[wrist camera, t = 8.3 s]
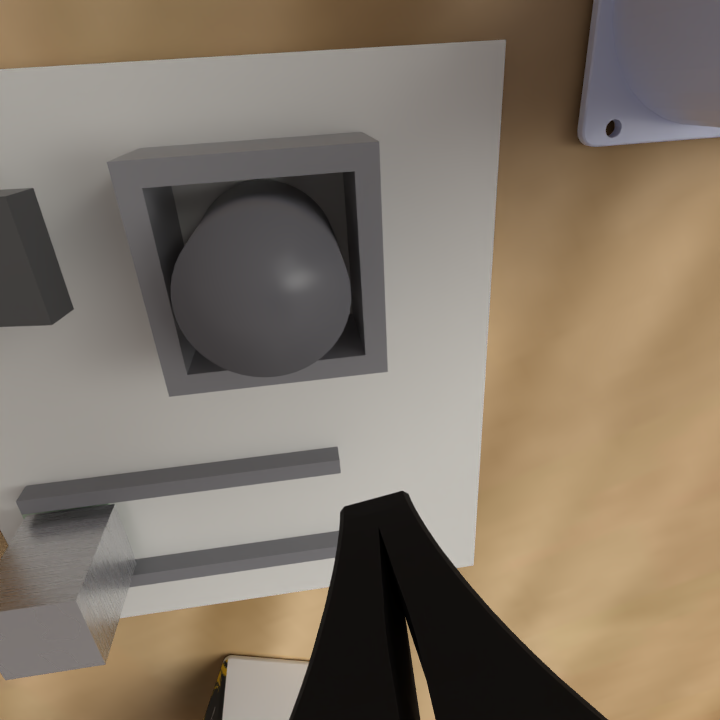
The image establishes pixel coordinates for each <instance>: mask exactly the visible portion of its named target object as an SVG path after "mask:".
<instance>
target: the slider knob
mask: <svg viewBox="0 0 720 720" xmlns="http://www.w3.org/2000/svg"><path fill="white" fill-rule="evenodd" d="M135 567H136V560H135V557H134V555H133V552H132V549H131V546H130V544H129V541H128V538H127V535H126V533H125V530H124V527H123V524H122V522H121V519H120V516H119V513H118V511H117V508H116V505H115V504H110V505H102V506H94V507H87V508H79V509H71V510H64V511H56V512H49V513H41V514H33V515H27V516H26V517H25V519H24V521H23V522H22V524H21V526H20V527H19V529H18V531H17V532H16V534H15V536H14V537H13V539H12V541H11V542H10V544H9V546H8V547H7V549H6V551H5V552H4V554H3V556H2V557H1V559H0V672H1V674H2V676H3V677H4V679H5V680H9V679H16V678H22V677H28V676H35V675H41V674H48V673H54V672H60V671H67V670H73V669H80V668H86V667H92V666H99V665H105V664H106V661H107V658H108V654H109V651H110V648H111V645H112V641H113V638H114V635H115V632H116V628H117V625H118V622H119V619H120V615H121V612H122V609H123V606H124V602H125V599H126V596H127V593H128V589H129V586H130V583H131V580H132V576H133V573H134V570H135Z"/></svg>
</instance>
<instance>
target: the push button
mask: <svg viewBox="0 0 720 720" xmlns="http://www.w3.org/2000/svg"><path fill="white" fill-rule="evenodd" d="M171 301H172V307H173V311H174V314H175V318H176V320H177V322H178V325H179V327H180V329H181V331H182V332H183V334H184V335H185V337H186V338H187V340H188V341H189V342H190V343H191V345H192V346H193V347H194V348H195V349H196V350H197V351H198V352H199V353H200V354H201V355H203V356H204V357H205V358H207V359H208V360H209V361H211V362H212V363H214V364H216V365H218V366H219V367H221V368H224V369H226V370H228V371H231V372H234V373H237V374H241V375H246V376H252V377H277V376H283V375H287V374H291V373H294V372H297V371H299V370H302V369H304V368H306V367H308V366H310V365H312V364H313V363H315V362H316V361H318V360H319V359H320V358H322V357H323V356H324V355H325V354H326V353H327V352H328V351H329V350H330V349H331V348H332V347H333V346H334V344H335V343H336V342H337V341H338V339H339V337H340V336H341V334H342V332H343V330H344V328H345V325H346V323H347V320H348V317H349V313H350V306H351V287H350V280H349V276H348V273H347V269H346V266H345V264H344V261H343V258H342V255H341V252H340V249H339V247H338V244H337V241H336V238H335V235H334V232H333V229H332V227H331V225H330V222H329V220H328V218H327V216H326V215H325V213H324V211H323V210H322V209H321V208H320V206H319V205H318V204H317V203H316V202H315V201H314V200H313V199H312V198H311V197H309V196H308V195H307V194H305V193H304V192H303V191H301V190H299V189H297V188H296V187H293V186H291V185H288V184H286V183H282V182H278V181H271V180H255V181H249V182H245V183H242V184H239V185H236V186H234V187H232V188H230V189H228V190H227V191H225V192H224V193H222V194H221V195H220V196H219V197H218V198H216V199H215V201H214V202H213V203H212V204H211V205H210V206H209V208H208V209H207V211H206V213H205V214H204V216H203V217H202V219H201V221H200V222H199V224H198V225H197V227H196V229H195V230H194V232H193V233H192V235H191V237H190V238H189V240H188V241H187V243H186V245H185V246H184V248H183V249H182V251H181V253H180V254H179V257H178V259H177V261H176V263H175V266H174V270H173V274H172V280H171Z"/></svg>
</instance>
